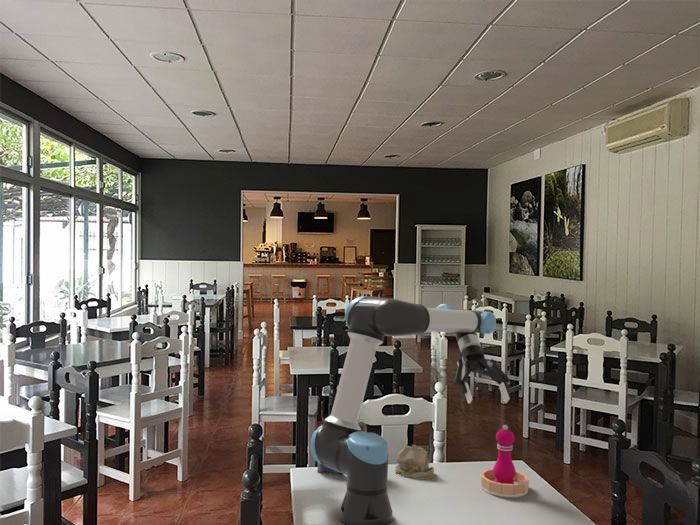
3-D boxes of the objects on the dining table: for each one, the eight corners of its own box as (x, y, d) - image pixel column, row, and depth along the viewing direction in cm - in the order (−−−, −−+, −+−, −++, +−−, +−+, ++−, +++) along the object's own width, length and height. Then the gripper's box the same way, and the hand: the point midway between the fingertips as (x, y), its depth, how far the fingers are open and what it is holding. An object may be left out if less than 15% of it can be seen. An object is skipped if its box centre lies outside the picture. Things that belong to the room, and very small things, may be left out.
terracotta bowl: (473, 489, 197) (473, 477, 197) (491, 476, 209) (491, 465, 209) (518, 501, 188) (518, 488, 188) (534, 487, 200) (534, 475, 200)
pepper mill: (490, 487, 197) (491, 426, 197) (495, 479, 203) (496, 420, 203) (513, 491, 194) (514, 429, 193) (517, 483, 200) (518, 423, 200)
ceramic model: (389, 475, 208) (390, 446, 208) (398, 465, 219) (399, 437, 219) (430, 481, 203) (430, 452, 203) (436, 470, 214) (437, 442, 214)
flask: (316, 472, 209) (317, 441, 209) (319, 469, 212) (320, 439, 212) (341, 476, 206) (342, 444, 206) (344, 473, 209) (345, 442, 209)
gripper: (498, 356, 223) (518, 406, 209) (435, 356, 217) (451, 407, 203) (506, 343, 218) (526, 394, 204) (442, 343, 212) (458, 395, 198)
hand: (489, 401), depth 203 cm, fingers open, 13 cm apart
